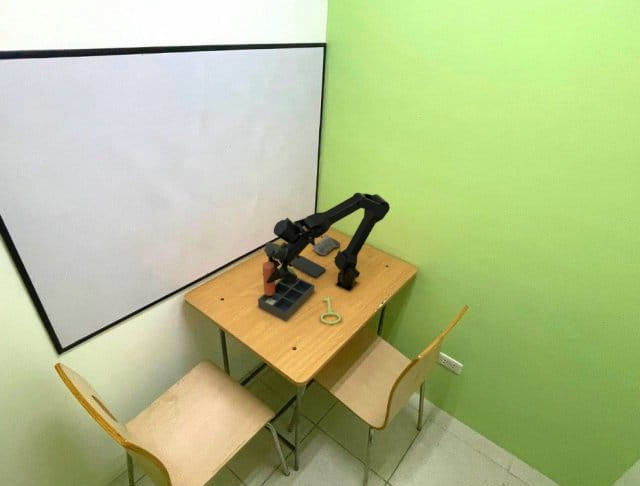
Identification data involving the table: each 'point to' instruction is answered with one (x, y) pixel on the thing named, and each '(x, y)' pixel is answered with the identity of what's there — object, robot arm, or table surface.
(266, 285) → the reddish brown cylinder
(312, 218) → the robot arm
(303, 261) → the phone
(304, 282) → the grid
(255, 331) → the table surface
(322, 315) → the key
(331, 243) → the stone
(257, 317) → the table surface
